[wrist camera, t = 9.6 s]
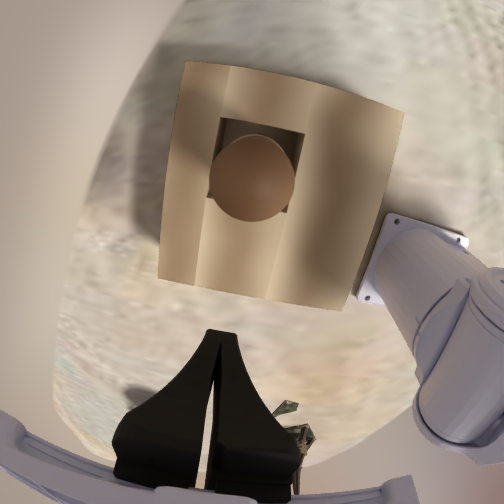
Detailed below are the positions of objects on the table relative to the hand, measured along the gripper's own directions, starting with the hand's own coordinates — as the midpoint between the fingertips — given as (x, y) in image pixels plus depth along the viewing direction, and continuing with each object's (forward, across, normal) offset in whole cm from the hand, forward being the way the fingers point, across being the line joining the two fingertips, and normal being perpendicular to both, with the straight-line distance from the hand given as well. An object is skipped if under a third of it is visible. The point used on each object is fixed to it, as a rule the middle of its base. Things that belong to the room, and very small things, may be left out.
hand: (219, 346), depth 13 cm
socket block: (+10, -2, -6) cm, 12 cm away
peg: (+10, 0, -7) cm, 12 cm away
